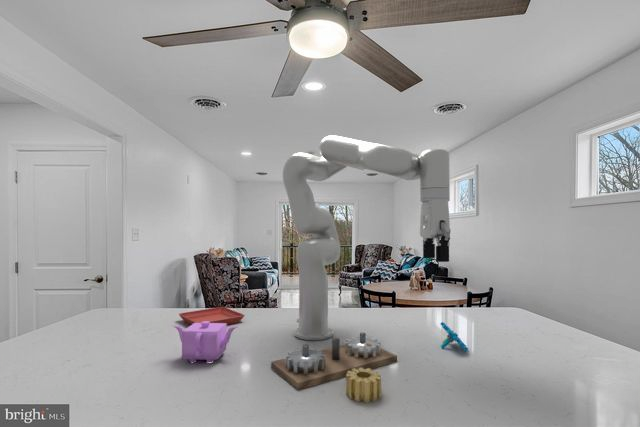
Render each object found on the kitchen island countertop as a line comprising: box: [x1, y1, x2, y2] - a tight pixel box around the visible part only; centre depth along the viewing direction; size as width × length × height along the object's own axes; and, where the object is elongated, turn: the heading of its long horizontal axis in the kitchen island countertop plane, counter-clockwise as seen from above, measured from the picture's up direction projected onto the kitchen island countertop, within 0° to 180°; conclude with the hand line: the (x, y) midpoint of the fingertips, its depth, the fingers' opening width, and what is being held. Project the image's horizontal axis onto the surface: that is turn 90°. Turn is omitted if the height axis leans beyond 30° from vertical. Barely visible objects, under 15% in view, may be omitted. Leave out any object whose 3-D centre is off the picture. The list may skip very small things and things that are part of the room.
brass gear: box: [345, 368, 382, 404], centre depth 75 cm, size 7×7×4 cm
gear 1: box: [285, 343, 325, 374], centre depth 86 cm, size 10×10×5 cm
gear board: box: [270, 337, 398, 391], centre depth 91 cm, size 30×14×6 cm, turn 123°
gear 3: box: [439, 321, 469, 352], centre depth 103 cm, size 11×6×10 cm
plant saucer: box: [178, 306, 246, 326], centre depth 130 cm, size 18×18×3 cm
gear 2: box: [344, 332, 382, 358], centre depth 96 cm, size 10×10×5 cm
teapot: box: [172, 321, 239, 363], centre depth 96 cm, size 18×13×10 cm
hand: (435, 259), depth 94 cm, fingers open, 9 cm apart
